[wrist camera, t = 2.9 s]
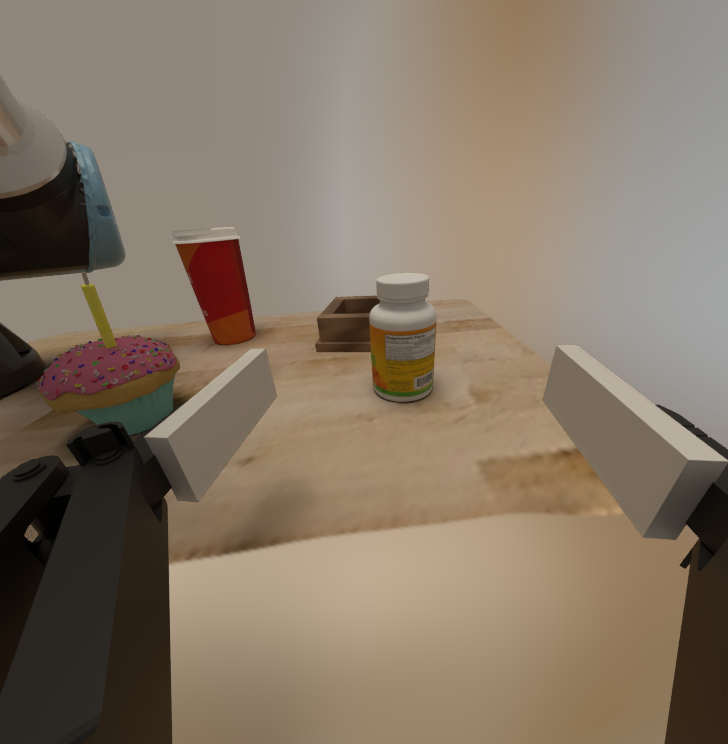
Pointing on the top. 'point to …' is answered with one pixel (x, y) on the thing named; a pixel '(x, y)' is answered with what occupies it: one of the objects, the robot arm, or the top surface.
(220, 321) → the paper cup
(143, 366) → the cupcake
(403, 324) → the supplement bottle
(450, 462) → the top surface
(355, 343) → the socket block
